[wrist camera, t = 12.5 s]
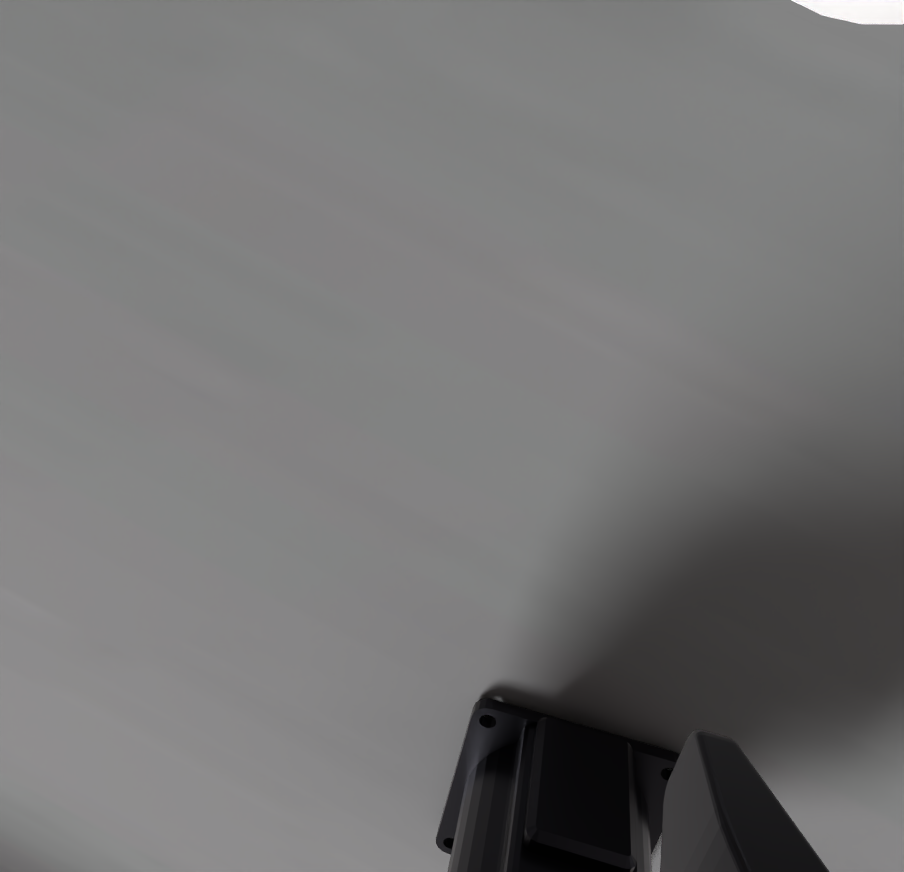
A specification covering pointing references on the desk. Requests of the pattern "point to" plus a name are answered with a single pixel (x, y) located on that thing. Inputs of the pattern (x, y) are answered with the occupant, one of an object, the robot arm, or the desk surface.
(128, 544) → the desk surface
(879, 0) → the hook
